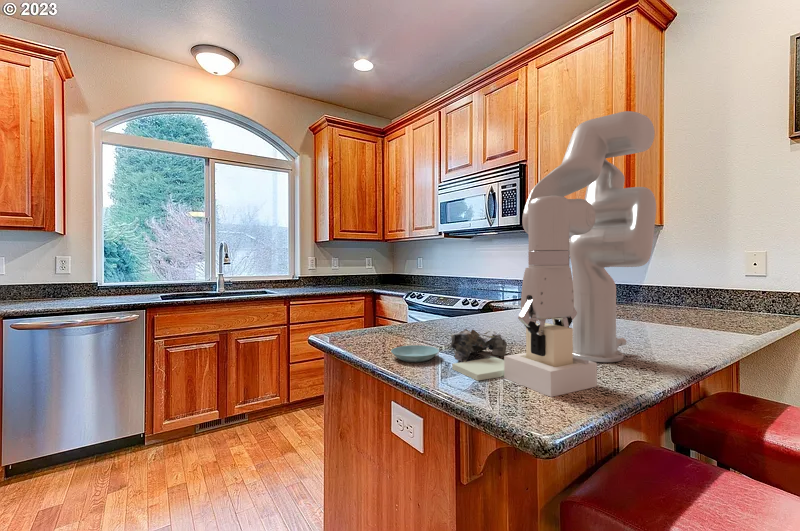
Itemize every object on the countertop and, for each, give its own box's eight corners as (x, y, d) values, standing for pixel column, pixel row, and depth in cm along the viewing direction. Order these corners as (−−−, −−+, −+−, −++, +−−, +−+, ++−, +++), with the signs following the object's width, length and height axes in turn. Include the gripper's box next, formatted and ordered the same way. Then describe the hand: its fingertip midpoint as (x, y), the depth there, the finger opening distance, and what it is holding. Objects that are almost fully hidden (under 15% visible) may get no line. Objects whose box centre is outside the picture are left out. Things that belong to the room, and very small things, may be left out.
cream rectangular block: (544, 375, 79) (544, 322, 79) (572, 385, 73) (572, 328, 72) (526, 378, 77) (526, 324, 76) (553, 389, 70) (553, 330, 70)
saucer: (381, 358, 95) (381, 349, 95) (418, 351, 102) (418, 342, 102) (410, 369, 85) (410, 358, 85) (449, 360, 92) (449, 350, 92)
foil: (521, 348, 89) (469, 315, 87) (497, 387, 89) (444, 355, 87) (503, 336, 100) (457, 306, 99) (482, 370, 100) (435, 341, 99)
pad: (495, 362, 89) (495, 357, 89) (523, 372, 81) (523, 366, 81) (452, 369, 84) (452, 363, 84) (477, 380, 76) (477, 374, 76)
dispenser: (547, 369, 83) (547, 347, 83) (596, 386, 72) (596, 360, 72) (504, 377, 77) (504, 353, 77) (550, 396, 67) (550, 368, 67)
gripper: (563, 260, 81) (563, 344, 82) (501, 260, 74) (502, 353, 74) (595, 260, 74) (595, 352, 75) (530, 261, 67) (530, 363, 67)
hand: (548, 351), depth 74 cm, fingers closed on cream rectangular block, 4 cm apart
